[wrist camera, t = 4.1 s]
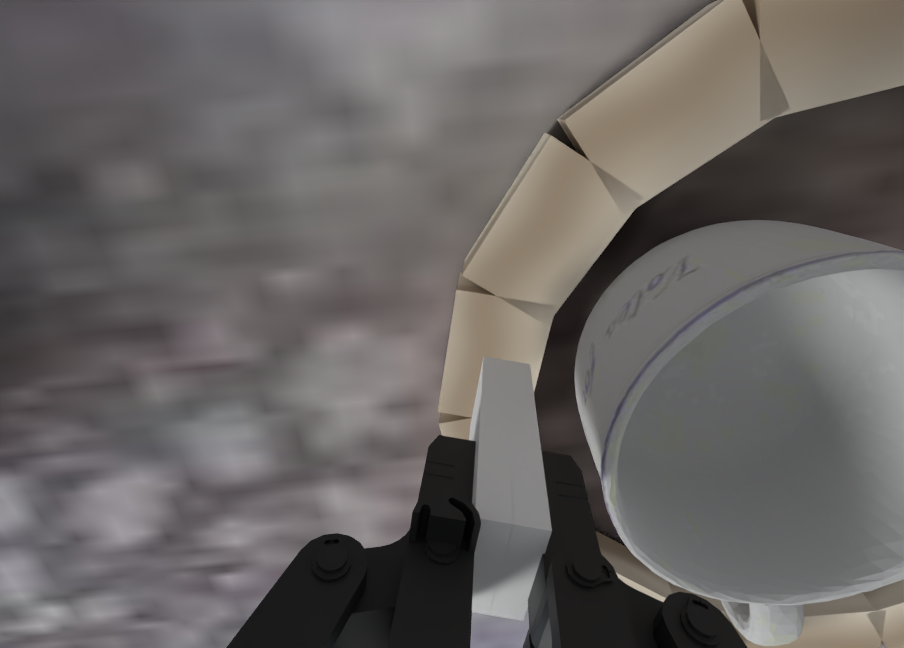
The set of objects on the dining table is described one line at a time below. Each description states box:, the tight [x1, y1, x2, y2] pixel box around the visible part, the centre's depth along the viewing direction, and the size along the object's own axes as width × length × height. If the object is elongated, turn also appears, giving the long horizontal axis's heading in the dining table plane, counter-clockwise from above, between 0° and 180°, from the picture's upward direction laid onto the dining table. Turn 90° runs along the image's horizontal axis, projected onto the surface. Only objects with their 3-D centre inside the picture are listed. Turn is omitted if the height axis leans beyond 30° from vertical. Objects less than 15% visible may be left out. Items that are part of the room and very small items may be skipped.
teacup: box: [574, 220, 904, 646], centre depth 16 cm, size 14×11×8 cm
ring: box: [438, 0, 904, 648], centre depth 16 cm, size 29×29×6 cm
